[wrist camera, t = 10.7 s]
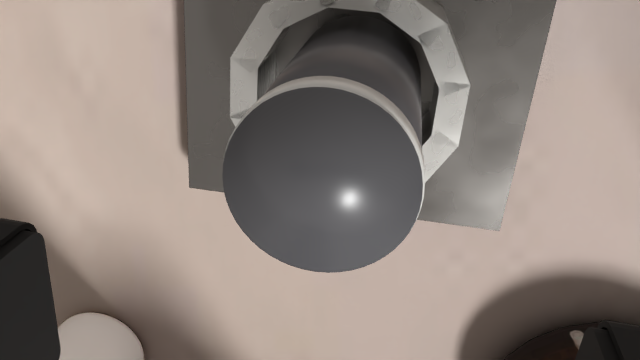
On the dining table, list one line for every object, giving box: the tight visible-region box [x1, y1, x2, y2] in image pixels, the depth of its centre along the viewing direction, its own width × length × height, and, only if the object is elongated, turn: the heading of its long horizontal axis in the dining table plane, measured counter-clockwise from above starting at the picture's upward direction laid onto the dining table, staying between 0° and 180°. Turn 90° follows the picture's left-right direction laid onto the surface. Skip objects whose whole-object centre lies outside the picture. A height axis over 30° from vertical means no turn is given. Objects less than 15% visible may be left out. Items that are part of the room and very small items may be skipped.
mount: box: [184, 0, 556, 231], centre depth 23 cm, size 14×12×4 cm
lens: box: [222, 16, 425, 272], centre depth 19 cm, size 5×5×10 cm
